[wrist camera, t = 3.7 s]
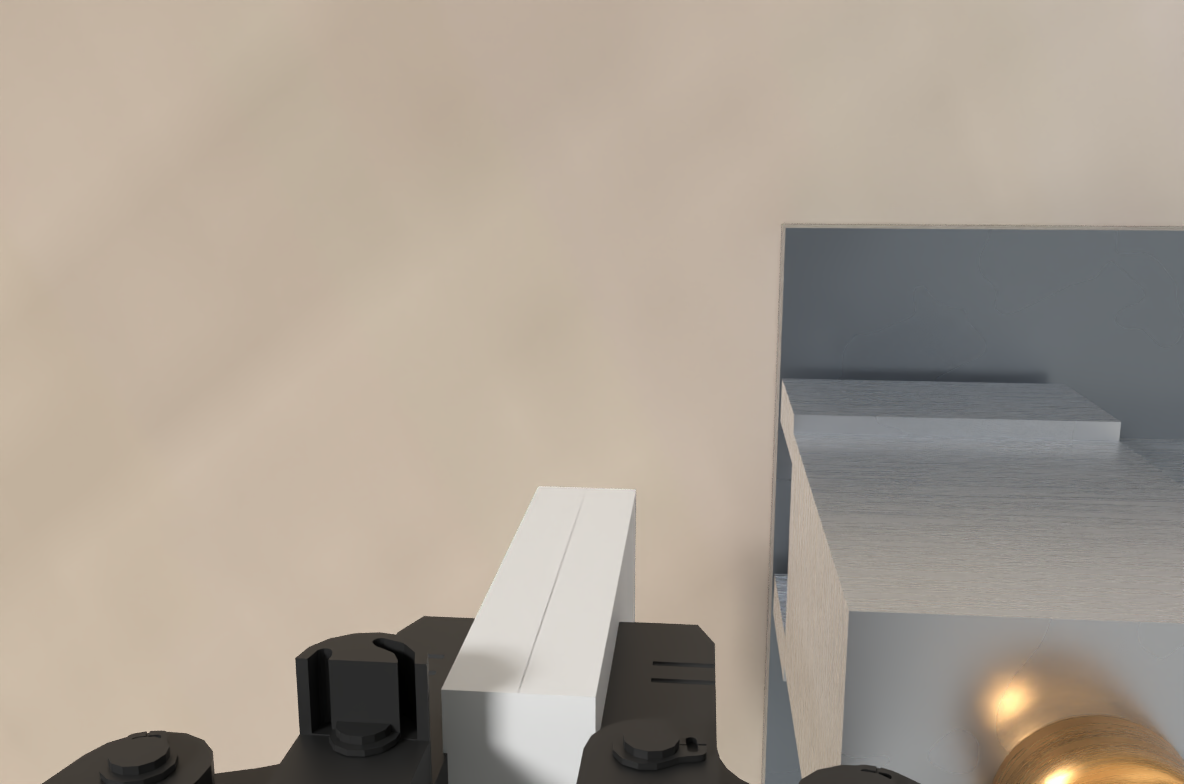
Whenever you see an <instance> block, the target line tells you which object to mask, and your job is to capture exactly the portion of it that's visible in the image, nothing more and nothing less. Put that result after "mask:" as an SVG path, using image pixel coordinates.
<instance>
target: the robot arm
mask: <svg viewBox="0 0 1184 784" xmlns="http://www.w3.org/2000/svg"><path fill="white" fill-rule="evenodd" d="M635 538H636V489H610V488H579V487H548V486H538V488H537V490H536V492H535V494H534V496H533V498H532V501H531V503H530V505H529V507H528V509H527V511H526V513H525V515H524V517H523V519H522V521H521V524H520V526H519V528H518V530H517V532H516V534H515V536H514V538H513V540H512V542H511V544H510V547H509V549H508V551H507V553H506V555H505V557H504V559H503V561H502V563H501V565H500V567H499V570H498V572H497V574H496V576H495V578H494V580H493V582H492V584H491V586H490V588H489V591H488V593H487V595H486V597H485V599H484V601H483V603H482V605H481V607H480V609H479V611H478V614H477V616H476V618H453V617H430V616H424V617H422V618H420V619H419V620H417V621H415V622H414V623H412V624H411V625H409V626H407V627H406V628H404V629H403V630H401V631H399V632H398V633H397V634H396V635H394V634H387V633H380V632H379V633H355V634H349V635H345V636H340V637H335V638H330V639H327V640H325V641H323V642H320V643H318V644H315V645H313V646H311V647H309V648H307V649H306V650H305V651H304V652H302V653H301V654H300V655H299V656H297V657H296V658H295V659H296V676H297V693H298V709H299V726H300V735H299V736H298V738H297V739H296V741H295V742H294V744H293V745H292V747H291V748H290V750H289V751H288V753H287V754H286V756H285V757H284V759H283V760H282V762H281V763H280V764H277V765H272V766H267V767H262V768H256V769H248V770H240V771H233V772H225V773H217V774H214V762H213V751H212V750H211V748H210V747H209V746H208V745H207V744H206V742H205V741H204V740H202V739H199V738H197V737H194V736H192V735H189V734H186V733H175V732H166V731H150V733H147V732H141V733H135V734H131V735H129V736H128V737H126V738H122V739H119V740H116V741H112V742H109V743H106V744H105V745H103V746H101V747H99V748H97V749H95V750H93V751H91V752H89V753H87V754H85V755H84V756H82V757H81V758H79V759H78V760H76V761H75V762H73V763H72V764H70V765H69V766H67V767H66V768H64V769H63V770H62V771H60V772H59V773H57V774H56V775H54V776H53V777H51V778H50V779H48V780H47V781H45V782H44V783H42V784H749V783H747V782H745V781H743V780H741V779H739V778H738V777H737V776H736V775H734V774H733V773H732V772H731V771H729V770H728V769H727V768H726V767H725V765H724V764H723V762H722V761H721V760H720V758H719V754H718V751H717V741H716V690H715V644H714V642H713V641H712V640H711V639H710V638H709V637H708V636H707V635H706V634H705V633H704V631H703V630H702V629H701V628H700V627H699V626H698V625H685V624H662V623H639V622H635ZM799 784H920V783H918V782H916V781H914V780H912V779H910V778H908V777H905V776H903V775H901V774H899V773H897V772H894V771H892V770H888V769H885V768H882V767H880V768H877V766H871V765H838V766H833V767H828V768H823V769H818V770H816V771H815V772H813V773H811V774H809V775H808V776H806V777H804V778H803V779H801V780H800V782H799Z"/></svg>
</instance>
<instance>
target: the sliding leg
mask: <svg viewBox="0 0 1184 784" xmlns="http://www.w3.org/2000/svg"><path fill="white" fill-rule="evenodd" d="M780 421H781V425H782V429H783V432H784V436H785V439H786V443H787V447H788V450H789V454H790V457H791V461H792V480H791V505H790V529H789V554H788V574H775V577H774V604H773V616H774V622H775V629H776V636H777V642H778V649H779V655H780V662H781V669H782V675H783V681H787V687H788V693H789V700H790V706H791V712H792V719H793V725H794V731H795V738H796V744H797V751H798V757H799V763H800V770H801V776H802V779H803V778H804V777H806V776H808V775H809V774H811V773H813V772H815V771H816V770H818V769H823V768H828V767H833V766H838V765H871V766H877V768H880V767H882V768H885V769H888V770H892V771H894V772H897V773H899V774H901V775H903V776H905V777H908V778H910V779H912V780H914V781H916V782H918V783H920V784H1184V487H1183V486H1181V485H1180V484H1178V483H1177V482H1176V481H1174V480H1173V479H1171V478H1170V477H1169V476H1167V475H1166V474H1165V473H1163V472H1162V471H1160V470H1159V469H1158V468H1156V467H1155V466H1153V465H1152V464H1151V463H1149V462H1148V461H1146V460H1145V459H1144V458H1142V457H1141V456H1140V455H1138V454H1137V453H1135V452H1134V451H1133V450H1131V449H1130V448H1128V447H1127V446H1126V445H1124V444H1123V443H1122V442H1120V441H1119V437H1120V428H1121V422H1120V421H1119V420H1117V419H1116V418H1114V417H1113V416H1111V415H1110V414H1108V413H1107V412H1105V411H1104V410H1102V409H1101V408H1099V407H1098V406H1097V405H1095V404H1094V403H1092V402H1091V401H1089V400H1088V399H1086V398H1085V397H1083V396H1082V395H1080V394H1079V393H1077V392H1076V391H1074V390H1073V389H1071V388H1070V387H1068V386H1067V385H1065V384H1035V383H984V382H932V381H881V380H829V379H782V391H781V418H780Z"/></svg>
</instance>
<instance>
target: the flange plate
mask: <svg viewBox="0 0 1184 784" xmlns="http://www.w3.org/2000/svg"><path fill="white" fill-rule="evenodd" d="M782 379H829V380H881V381H932V382H984V383H1035V384H1065V385H1067V386H1068V387H1070V388H1071V389H1073V390H1074V391H1076V392H1077V393H1079V394H1080V395H1082V396H1083V397H1085V398H1086V399H1088V400H1089V401H1091V402H1092V403H1094V404H1095V405H1097V406H1098V407H1099V408H1101V409H1102V410H1104V411H1105V412H1107V413H1108V414H1110V415H1111V416H1113V417H1114V418H1116V419H1117V420H1119V421H1120V422H1121V428H1120V437H1119V441H1120V442H1122V443H1123V444H1124V445H1126V446H1127V447H1128V448H1130V449H1131V450H1133V451H1134V452H1135V453H1137V454H1138V455H1140V456H1141V457H1142V458H1144V459H1145V460H1146V461H1148V462H1149V463H1151V464H1152V465H1153V466H1155V467H1156V468H1158V469H1159V470H1160V471H1162V472H1163V473H1165V474H1166V475H1167V476H1169V477H1170V478H1171V479H1173V480H1174V481H1176V482H1177V483H1178V484H1180V485H1181V486H1183V487H1184V227H1170V226H1025V225H880V224H782V231H781V258H780V286H779V313H778V341H777V368H776V395H775V423H774V450H773V478H772V505H771V533H770V560H769V588H768V615H767V643H766V670H765V698H764V725H763V752H762V780H761V784H799V782H800V780H801V779H802V776H801V770H800V763H799V757H798V751H797V744H796V738H795V731H794V725H793V719H792V712H791V706H790V700H789V693H788V687H787V681H783V675H782V669H781V662H780V655H779V649H778V642H777V636H776V629H775V622H774V616H773V604H774V577H775V574H788V554H789V529H790V505H791V480H792V461H791V457H790V454H789V450H788V447H787V443H786V439H785V436H784V432H783V429H782V425H781V421H780V418H781V391H782Z"/></svg>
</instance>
